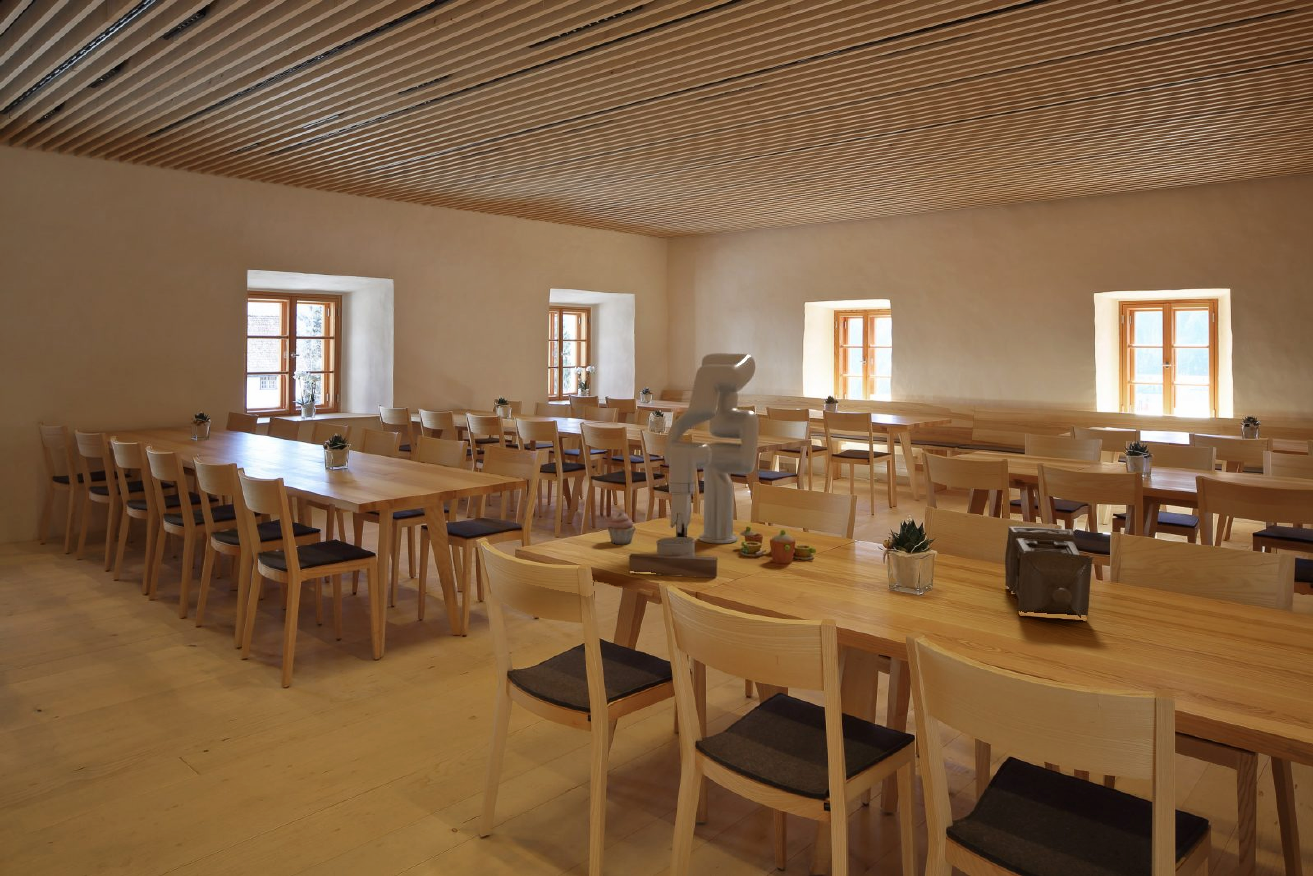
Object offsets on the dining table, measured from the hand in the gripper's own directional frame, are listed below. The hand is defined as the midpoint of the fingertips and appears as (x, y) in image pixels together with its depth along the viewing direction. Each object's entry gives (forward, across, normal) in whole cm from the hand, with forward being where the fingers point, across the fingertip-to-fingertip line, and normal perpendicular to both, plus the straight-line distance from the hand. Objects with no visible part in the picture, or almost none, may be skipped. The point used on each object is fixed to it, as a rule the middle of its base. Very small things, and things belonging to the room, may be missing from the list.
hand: (681, 549), depth 267 cm
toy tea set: (+4, -12, +26) cm, 28 cm away
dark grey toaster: (+4, +33, +94) cm, 99 cm away
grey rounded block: (+3, +8, 0) cm, 8 cm away
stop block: (+3, +17, 0) cm, 17 cm away
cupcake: (+3, -19, -22) cm, 30 cm away
